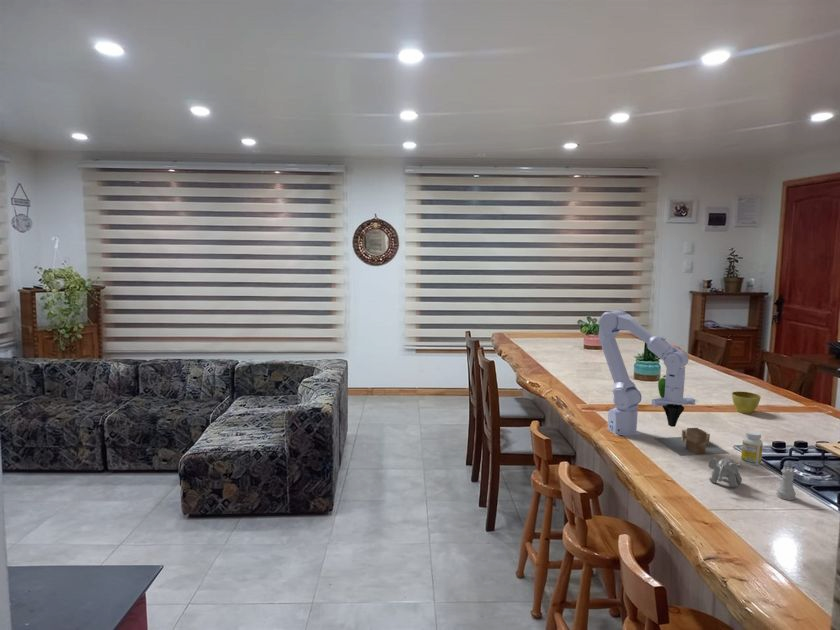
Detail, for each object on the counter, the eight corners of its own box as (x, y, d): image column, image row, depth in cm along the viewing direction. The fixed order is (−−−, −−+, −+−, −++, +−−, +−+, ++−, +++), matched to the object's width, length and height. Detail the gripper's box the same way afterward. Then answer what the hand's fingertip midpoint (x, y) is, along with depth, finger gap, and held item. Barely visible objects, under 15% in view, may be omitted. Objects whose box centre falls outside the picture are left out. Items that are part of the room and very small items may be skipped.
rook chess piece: (788, 493, 152) (790, 465, 151) (799, 500, 148) (802, 472, 147) (772, 493, 152) (774, 465, 151) (783, 501, 148) (786, 472, 147)
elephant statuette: (739, 481, 161) (741, 454, 160) (748, 496, 150) (750, 468, 149) (704, 476, 164) (705, 451, 163) (710, 491, 153) (711, 464, 152)
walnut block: (695, 454, 179) (696, 433, 178) (685, 448, 184) (687, 428, 183) (705, 453, 179) (706, 432, 178) (695, 448, 184) (697, 427, 183)
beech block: (690, 434, 187) (709, 433, 188) (681, 429, 192) (700, 429, 192) (689, 444, 187) (709, 443, 188) (681, 439, 192) (699, 438, 193)
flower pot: (763, 416, 219) (764, 398, 218) (735, 414, 221) (736, 397, 220) (753, 409, 229) (755, 392, 228) (726, 407, 231) (728, 390, 230)
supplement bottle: (748, 466, 170) (751, 436, 169) (736, 459, 176) (739, 430, 174) (765, 465, 171) (767, 435, 170) (753, 459, 176) (755, 429, 175)
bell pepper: (673, 394, 250) (675, 373, 248) (680, 400, 242) (681, 377, 240) (654, 394, 251) (655, 372, 249) (660, 399, 242) (661, 376, 241)
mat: (680, 456, 178) (680, 455, 178) (653, 439, 193) (653, 438, 193) (729, 454, 180) (729, 453, 180) (698, 437, 196) (698, 436, 196)
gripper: (661, 390, 181) (658, 430, 183) (702, 389, 183) (699, 428, 185) (649, 384, 188) (646, 423, 190) (688, 383, 190) (686, 422, 192)
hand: (671, 425), depth 188 cm, fingers closed
